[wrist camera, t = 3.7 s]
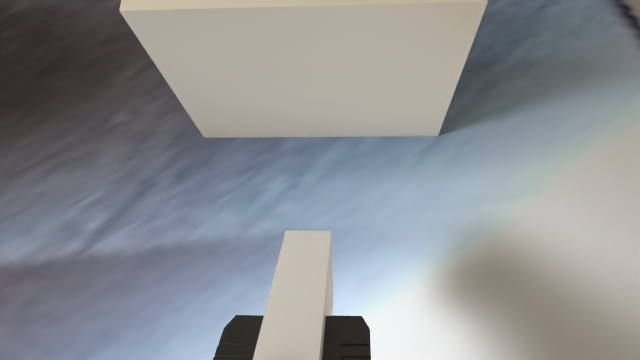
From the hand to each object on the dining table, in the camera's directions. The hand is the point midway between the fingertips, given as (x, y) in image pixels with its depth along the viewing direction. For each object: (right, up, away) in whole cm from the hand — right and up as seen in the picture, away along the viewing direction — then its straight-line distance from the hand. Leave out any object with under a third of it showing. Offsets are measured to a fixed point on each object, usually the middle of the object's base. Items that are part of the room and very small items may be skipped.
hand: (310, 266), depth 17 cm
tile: (0, +6, +9) cm, 11 cm away
